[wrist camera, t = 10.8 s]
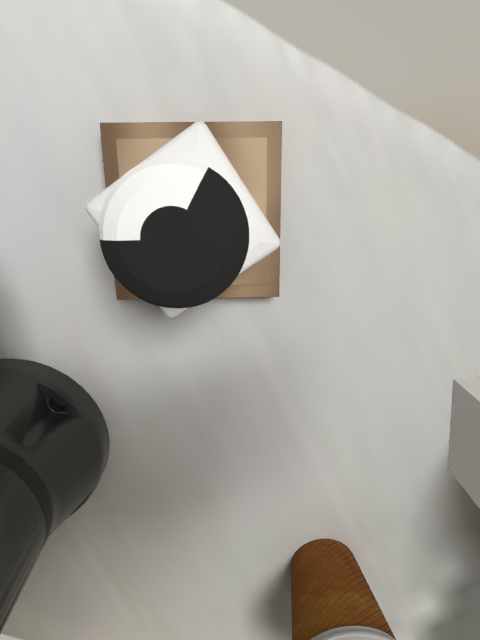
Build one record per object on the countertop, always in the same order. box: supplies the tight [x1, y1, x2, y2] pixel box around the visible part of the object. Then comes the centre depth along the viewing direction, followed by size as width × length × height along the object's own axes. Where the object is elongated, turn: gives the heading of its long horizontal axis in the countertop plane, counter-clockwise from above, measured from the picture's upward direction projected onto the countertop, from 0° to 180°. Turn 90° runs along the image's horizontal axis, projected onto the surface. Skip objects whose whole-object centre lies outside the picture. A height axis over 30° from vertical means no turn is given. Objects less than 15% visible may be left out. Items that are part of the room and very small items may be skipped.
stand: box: [100, 121, 282, 300], centre depth 32 cm, size 12×12×3 cm
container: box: [86, 121, 280, 318], centre depth 25 cm, size 8×8×13 cm
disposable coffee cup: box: [291, 539, 396, 640], centre depth 39 cm, size 10×10×12 cm
